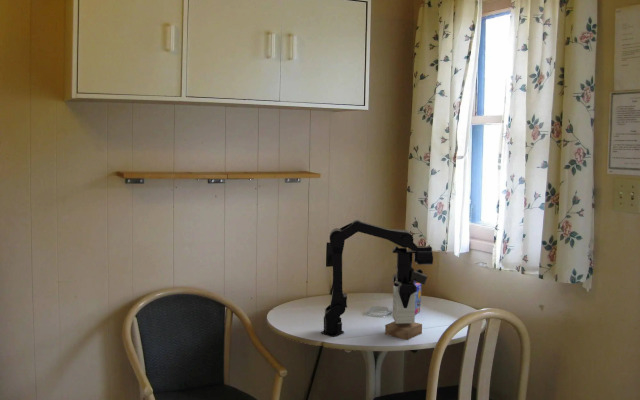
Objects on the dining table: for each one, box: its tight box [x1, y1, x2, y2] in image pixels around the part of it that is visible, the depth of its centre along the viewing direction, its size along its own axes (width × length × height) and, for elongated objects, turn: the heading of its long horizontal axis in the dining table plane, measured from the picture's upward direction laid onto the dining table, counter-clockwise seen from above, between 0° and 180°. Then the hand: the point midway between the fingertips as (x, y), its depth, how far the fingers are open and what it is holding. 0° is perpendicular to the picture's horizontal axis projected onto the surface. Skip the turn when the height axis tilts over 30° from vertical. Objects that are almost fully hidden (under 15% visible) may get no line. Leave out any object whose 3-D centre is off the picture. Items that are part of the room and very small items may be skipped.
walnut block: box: [384, 321, 423, 341], centre depth 235 cm, size 10×10×4 cm
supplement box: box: [392, 285, 416, 324], centre depth 234 cm, size 7×7×13 cm
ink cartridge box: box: [413, 281, 423, 316], centre depth 262 cm, size 10×6×14 cm, turn 152°
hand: (403, 305), depth 234 cm, fingers closed on supplement box, 7 cm apart
